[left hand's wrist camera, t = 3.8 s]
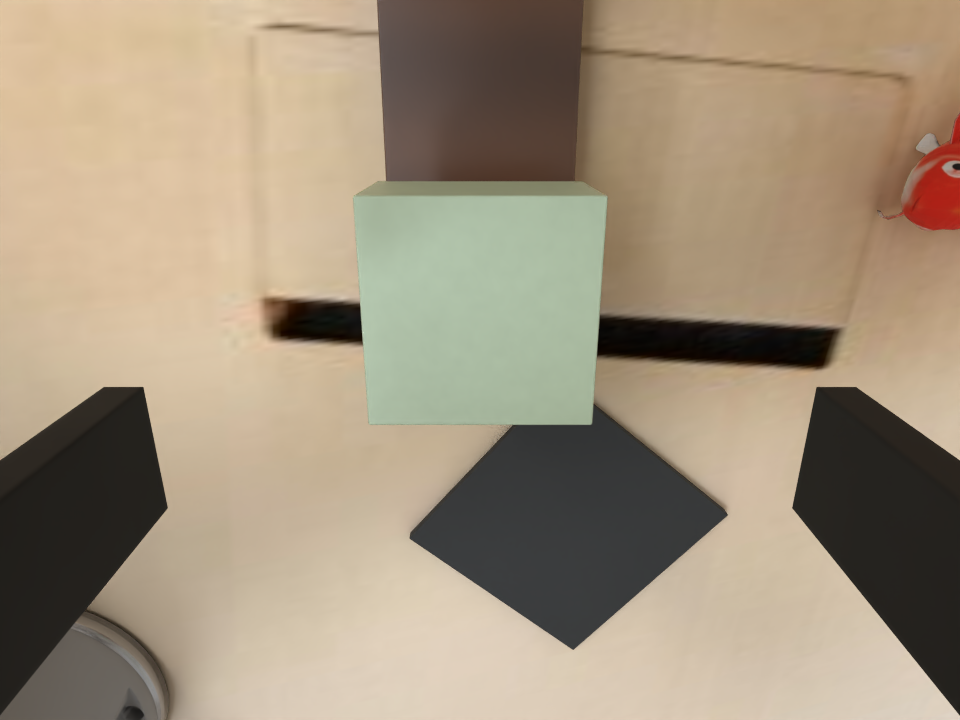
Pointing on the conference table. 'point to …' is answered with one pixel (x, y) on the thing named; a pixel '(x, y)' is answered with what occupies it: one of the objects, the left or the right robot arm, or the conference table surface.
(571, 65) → the stand
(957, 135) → the fish
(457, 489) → the mat
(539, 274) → the pale green block
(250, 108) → the conference table surface
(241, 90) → the conference table surface
